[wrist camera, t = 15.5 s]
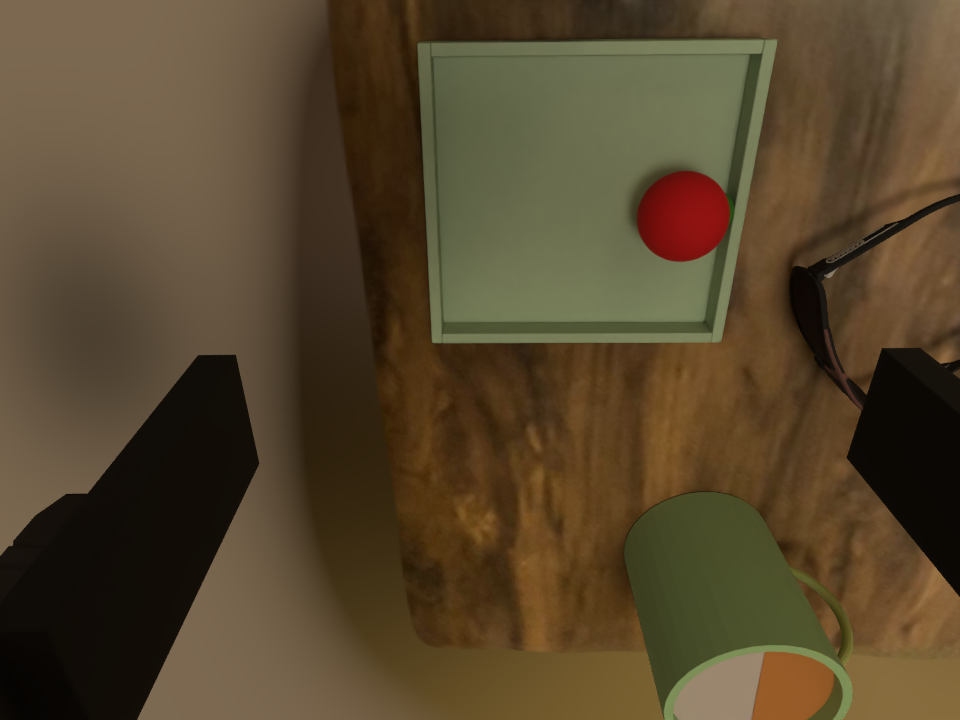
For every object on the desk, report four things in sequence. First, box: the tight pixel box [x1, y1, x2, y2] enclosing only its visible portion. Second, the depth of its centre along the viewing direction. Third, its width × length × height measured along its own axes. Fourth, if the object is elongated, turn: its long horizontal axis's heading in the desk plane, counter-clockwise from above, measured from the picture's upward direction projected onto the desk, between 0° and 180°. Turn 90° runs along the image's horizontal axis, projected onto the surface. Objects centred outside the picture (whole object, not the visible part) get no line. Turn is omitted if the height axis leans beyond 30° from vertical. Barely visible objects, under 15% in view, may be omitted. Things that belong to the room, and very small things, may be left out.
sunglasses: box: [790, 194, 960, 411], centre depth 35 cm, size 10×12×5 cm
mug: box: [624, 492, 853, 720], centre depth 41 cm, size 13×10×12 cm
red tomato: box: [637, 171, 734, 262], centre depth 32 cm, size 4×4×5 cm
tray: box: [417, 38, 777, 343], centre depth 34 cm, size 16×15×2 cm
